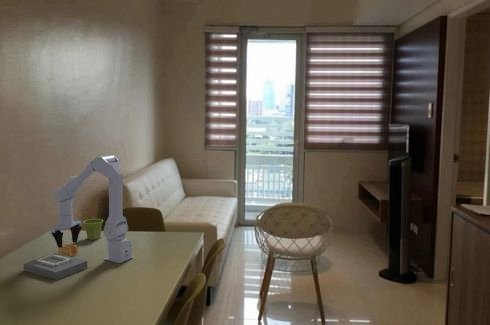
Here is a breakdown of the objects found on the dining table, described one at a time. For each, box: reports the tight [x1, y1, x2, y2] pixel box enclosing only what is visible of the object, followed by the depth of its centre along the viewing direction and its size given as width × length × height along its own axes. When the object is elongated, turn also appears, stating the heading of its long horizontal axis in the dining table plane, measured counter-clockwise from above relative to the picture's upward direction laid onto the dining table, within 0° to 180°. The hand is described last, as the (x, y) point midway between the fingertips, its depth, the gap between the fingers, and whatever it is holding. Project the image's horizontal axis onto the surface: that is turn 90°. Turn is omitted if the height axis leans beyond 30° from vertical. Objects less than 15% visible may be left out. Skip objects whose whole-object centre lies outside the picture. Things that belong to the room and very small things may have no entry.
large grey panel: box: [23, 253, 88, 281], centre depth 173 cm, size 20×14×4 cm
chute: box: [57, 242, 79, 257], centre depth 192 cm, size 8×4×4 cm, turn 60°
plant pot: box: [82, 218, 104, 241], centre depth 215 cm, size 9×9×9 cm
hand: (67, 244), depth 191 cm, fingers open, 7 cm apart
